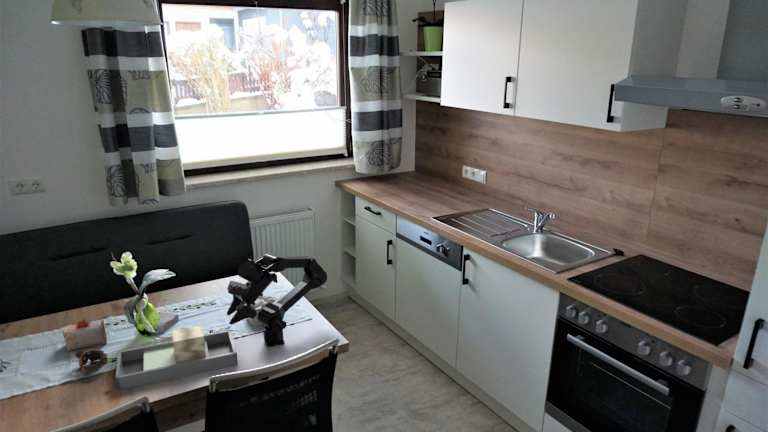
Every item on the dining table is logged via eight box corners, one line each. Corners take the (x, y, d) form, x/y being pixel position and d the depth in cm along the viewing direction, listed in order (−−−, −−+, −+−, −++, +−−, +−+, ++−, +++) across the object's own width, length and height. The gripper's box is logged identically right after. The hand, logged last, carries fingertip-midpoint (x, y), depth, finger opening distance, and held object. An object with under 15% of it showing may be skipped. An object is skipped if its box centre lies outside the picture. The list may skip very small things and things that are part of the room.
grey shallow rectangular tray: (231, 340, 195) (230, 329, 194) (237, 364, 181) (236, 352, 179) (120, 362, 181) (118, 351, 180) (117, 390, 166) (115, 378, 165)
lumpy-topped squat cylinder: (244, 316, 213) (243, 297, 211) (274, 308, 220) (273, 290, 217) (252, 327, 205) (251, 307, 202) (283, 318, 212) (282, 299, 209)
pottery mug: (117, 361, 182) (111, 350, 176) (99, 385, 176) (93, 374, 170) (87, 350, 184) (80, 338, 178) (68, 373, 177) (60, 362, 171)
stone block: (142, 336, 202) (164, 334, 199) (138, 324, 200) (160, 323, 198) (160, 322, 213) (181, 320, 210) (157, 311, 212) (178, 309, 209)
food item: (64, 354, 186) (59, 329, 183) (67, 343, 193) (62, 319, 190) (106, 345, 191) (102, 322, 188) (107, 335, 198) (103, 312, 195)
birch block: (203, 344, 187) (201, 325, 184) (206, 356, 180) (203, 336, 177) (174, 350, 183) (171, 330, 181) (175, 362, 176) (172, 342, 174)
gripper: (236, 264, 189) (207, 296, 188) (244, 284, 172) (213, 320, 172) (259, 280, 194) (231, 311, 193) (269, 301, 178) (239, 336, 177)
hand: (228, 319), depth 184 cm, fingers open, 7 cm apart
